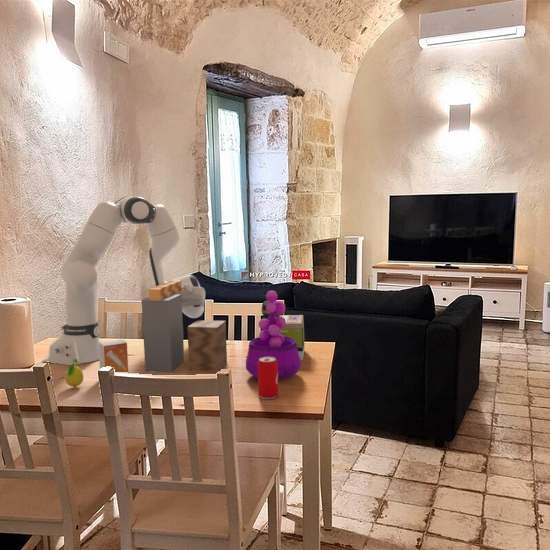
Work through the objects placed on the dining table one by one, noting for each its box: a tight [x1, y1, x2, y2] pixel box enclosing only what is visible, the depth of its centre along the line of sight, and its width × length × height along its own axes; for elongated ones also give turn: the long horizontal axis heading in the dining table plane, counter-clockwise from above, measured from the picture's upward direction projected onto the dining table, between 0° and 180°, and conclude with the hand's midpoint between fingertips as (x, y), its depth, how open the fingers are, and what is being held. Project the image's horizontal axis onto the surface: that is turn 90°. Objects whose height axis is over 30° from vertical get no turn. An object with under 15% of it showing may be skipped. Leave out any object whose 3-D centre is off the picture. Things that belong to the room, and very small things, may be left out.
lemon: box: [64, 358, 84, 389], centre depth 177 cm, size 7×6×10 cm
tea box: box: [279, 314, 305, 361], centre depth 209 cm, size 15×10×15 cm, turn 175°
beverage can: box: [257, 357, 280, 400], centre depth 165 cm, size 6×6×12 cm
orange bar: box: [147, 279, 182, 301], centre depth 199 cm, size 22×4×4 cm, turn 169°
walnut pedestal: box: [187, 319, 228, 372], centre depth 197 cm, size 11×11×16 cm
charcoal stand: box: [141, 294, 185, 373], centre depth 197 cm, size 13×10×26 cm
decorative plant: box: [245, 290, 302, 381], centre depth 182 cm, size 19×18×30 cm
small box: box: [99, 338, 129, 373], centre depth 185 cm, size 8×6×13 cm
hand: (173, 286), depth 206 cm, fingers open, 8 cm apart
